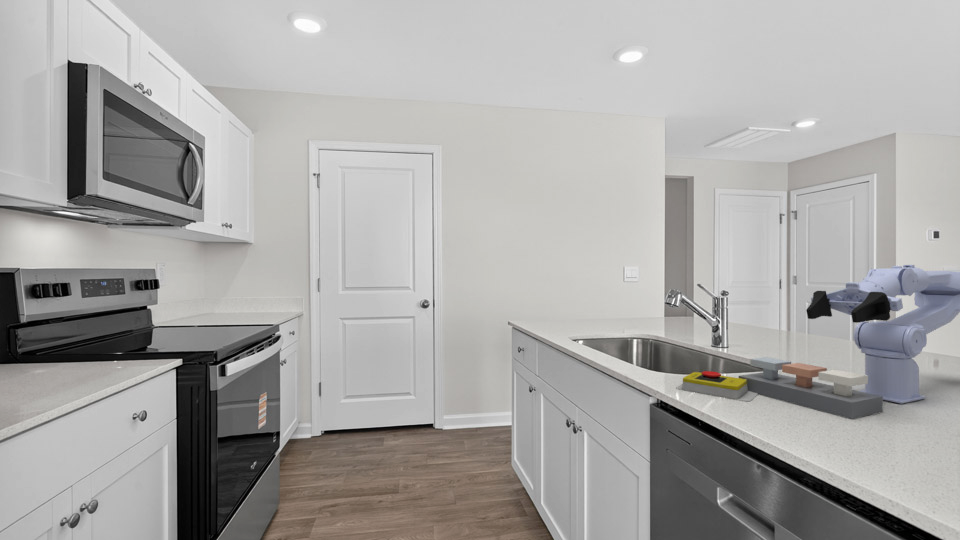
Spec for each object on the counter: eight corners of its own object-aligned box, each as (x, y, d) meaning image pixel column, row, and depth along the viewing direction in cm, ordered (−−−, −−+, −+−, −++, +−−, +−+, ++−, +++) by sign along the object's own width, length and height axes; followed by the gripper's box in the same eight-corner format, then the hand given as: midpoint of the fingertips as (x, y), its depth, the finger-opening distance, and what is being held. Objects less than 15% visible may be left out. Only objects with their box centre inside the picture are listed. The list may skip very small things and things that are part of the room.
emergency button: (688, 365, 106) (759, 375, 96) (688, 383, 106) (759, 395, 96) (674, 372, 100) (749, 383, 89) (674, 391, 100) (749, 404, 89)
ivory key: (835, 391, 88) (835, 369, 88) (867, 398, 83) (867, 375, 83) (818, 394, 86) (818, 372, 86) (851, 401, 81) (851, 378, 81)
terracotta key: (798, 383, 95) (798, 362, 95) (826, 389, 90) (826, 368, 90) (782, 385, 93) (782, 365, 93) (810, 392, 88) (810, 370, 88)
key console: (767, 384, 103) (767, 371, 103) (882, 412, 83) (882, 396, 83) (738, 388, 99) (738, 375, 99) (851, 419, 79) (851, 402, 79)
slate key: (766, 375, 101) (766, 357, 101) (791, 381, 96) (791, 361, 96) (750, 378, 99) (750, 358, 99) (775, 384, 94) (774, 363, 94)
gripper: (824, 276, 96) (787, 294, 91) (910, 275, 83) (872, 297, 78) (830, 306, 97) (794, 326, 92) (916, 311, 83) (879, 335, 78)
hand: (830, 315), depth 85 cm, fingers open, 7 cm apart
